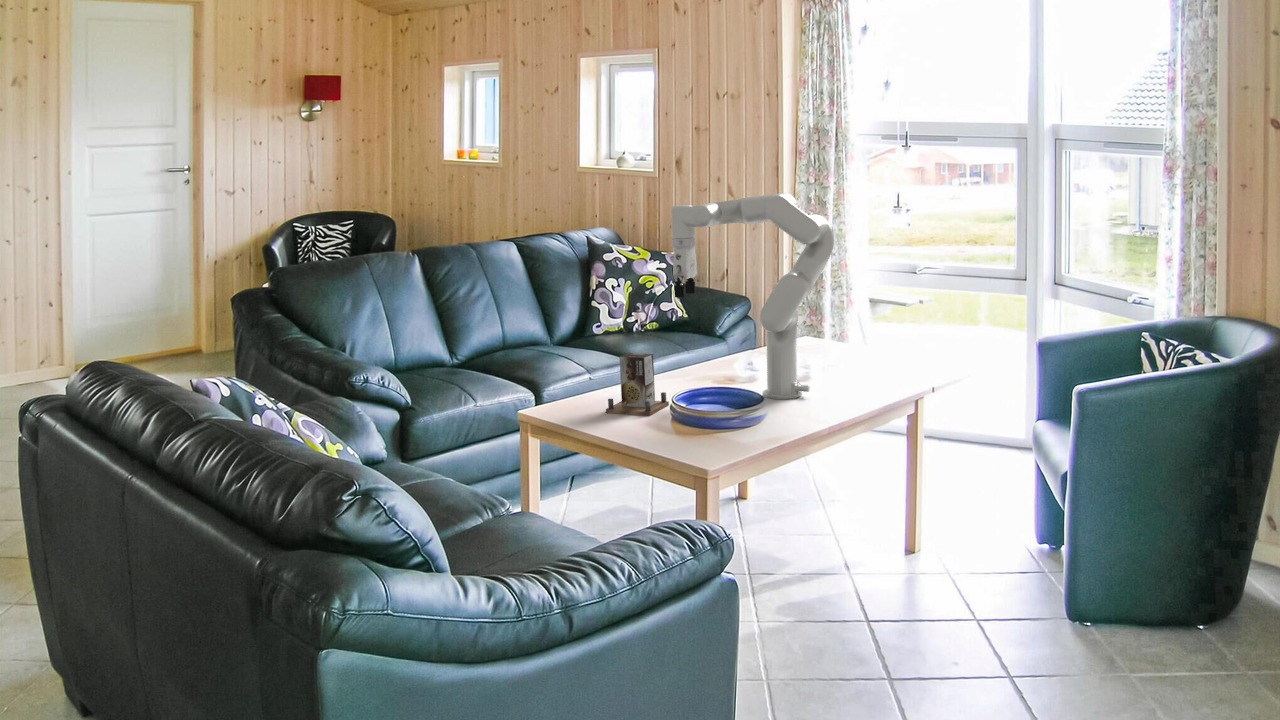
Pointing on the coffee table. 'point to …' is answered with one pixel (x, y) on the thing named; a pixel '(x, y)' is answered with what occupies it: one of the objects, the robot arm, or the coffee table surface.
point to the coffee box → (637, 379)
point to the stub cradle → (645, 411)
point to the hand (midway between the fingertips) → (685, 295)
